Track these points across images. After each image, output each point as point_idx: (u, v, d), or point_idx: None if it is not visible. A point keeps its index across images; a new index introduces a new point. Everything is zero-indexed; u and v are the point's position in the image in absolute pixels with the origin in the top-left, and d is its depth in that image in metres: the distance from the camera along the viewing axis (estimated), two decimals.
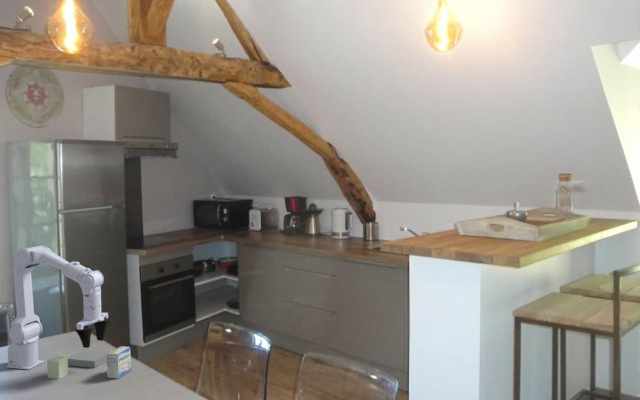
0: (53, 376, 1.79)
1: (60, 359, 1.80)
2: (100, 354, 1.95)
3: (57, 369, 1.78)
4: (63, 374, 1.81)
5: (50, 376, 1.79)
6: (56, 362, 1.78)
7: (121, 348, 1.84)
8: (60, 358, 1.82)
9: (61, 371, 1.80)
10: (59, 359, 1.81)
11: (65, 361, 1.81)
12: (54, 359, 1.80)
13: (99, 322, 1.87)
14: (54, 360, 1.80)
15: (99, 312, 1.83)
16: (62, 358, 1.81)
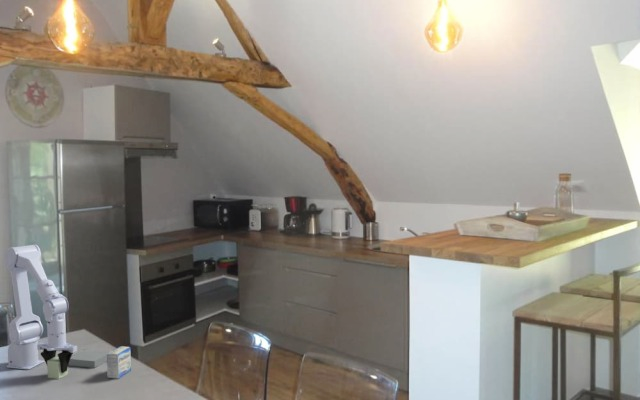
0: (53, 376, 1.79)
1: None
2: (100, 354, 1.95)
3: (57, 369, 1.78)
4: (63, 374, 1.81)
5: (50, 376, 1.79)
6: (56, 361, 1.78)
7: (121, 348, 1.84)
8: None
9: None
10: None
11: None
12: (54, 359, 1.80)
13: None
14: (54, 359, 1.80)
15: (50, 341, 1.78)
16: None
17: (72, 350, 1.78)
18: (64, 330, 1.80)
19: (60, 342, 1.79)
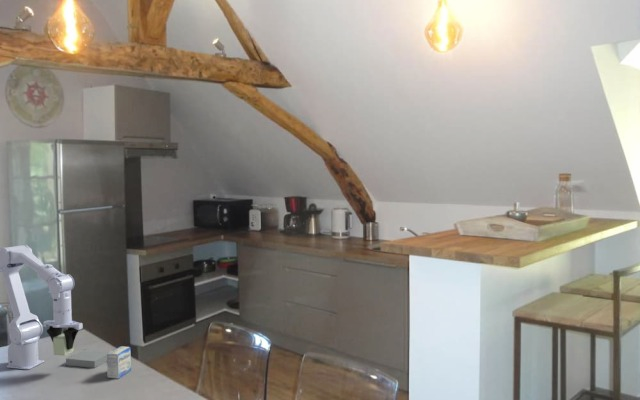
0: (59, 353, 1.81)
1: None
2: (100, 354, 1.95)
3: (63, 346, 1.80)
4: (69, 351, 1.83)
5: (56, 353, 1.81)
6: (62, 338, 1.80)
7: (121, 348, 1.84)
8: None
9: None
10: (64, 336, 1.83)
11: None
12: (60, 336, 1.83)
13: None
14: (59, 337, 1.82)
15: (56, 318, 1.80)
16: None
17: (78, 327, 1.80)
18: (70, 307, 1.83)
19: (66, 320, 1.81)
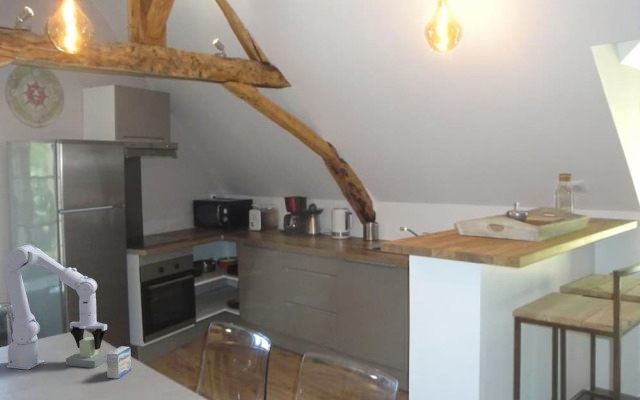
0: (85, 355, 1.92)
1: (91, 339, 1.93)
2: (100, 354, 1.95)
3: (89, 348, 1.91)
4: (94, 353, 1.94)
5: (82, 355, 1.92)
6: (88, 341, 1.91)
7: (121, 348, 1.84)
8: (91, 338, 1.95)
9: (92, 350, 1.92)
10: (90, 339, 1.94)
11: None
12: (85, 339, 1.93)
13: None
14: (85, 340, 1.93)
15: (83, 320, 1.91)
16: (93, 338, 1.94)
17: (103, 328, 1.91)
18: None
19: (92, 321, 1.92)
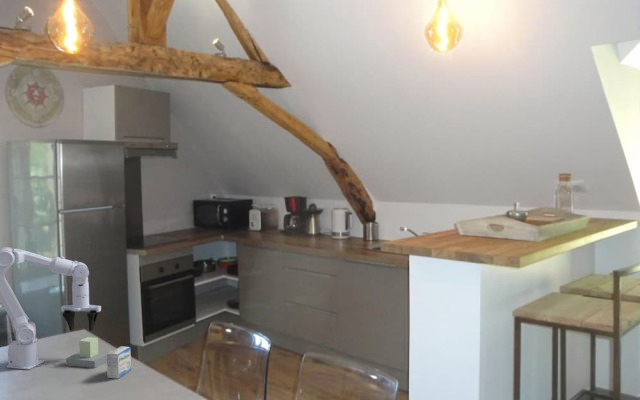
0: (85, 355, 1.92)
1: (91, 339, 1.93)
2: (100, 354, 1.95)
3: (89, 348, 1.91)
4: (94, 353, 1.94)
5: (82, 355, 1.92)
6: (88, 341, 1.91)
7: (121, 348, 1.84)
8: (91, 338, 1.95)
9: (92, 350, 1.92)
10: (90, 339, 1.94)
11: (96, 341, 1.94)
12: (85, 339, 1.93)
13: None
14: (85, 340, 1.93)
15: (77, 302, 1.95)
16: (93, 338, 1.94)
17: (97, 309, 1.97)
18: None
19: (85, 303, 1.97)
